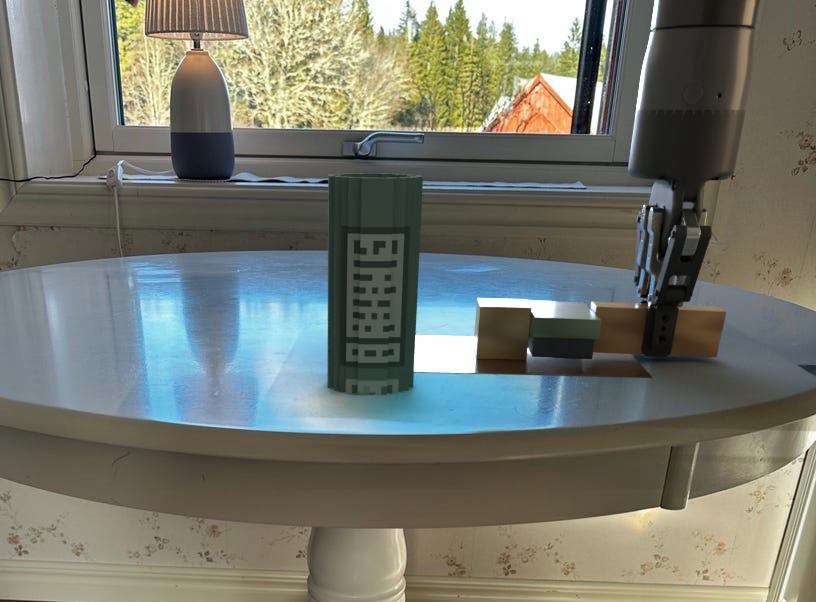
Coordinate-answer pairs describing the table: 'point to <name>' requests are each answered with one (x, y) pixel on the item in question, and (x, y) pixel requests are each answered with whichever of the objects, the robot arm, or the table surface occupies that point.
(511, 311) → the cork block
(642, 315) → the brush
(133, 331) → the table surface
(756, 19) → the robot arm
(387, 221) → the can
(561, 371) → the board
